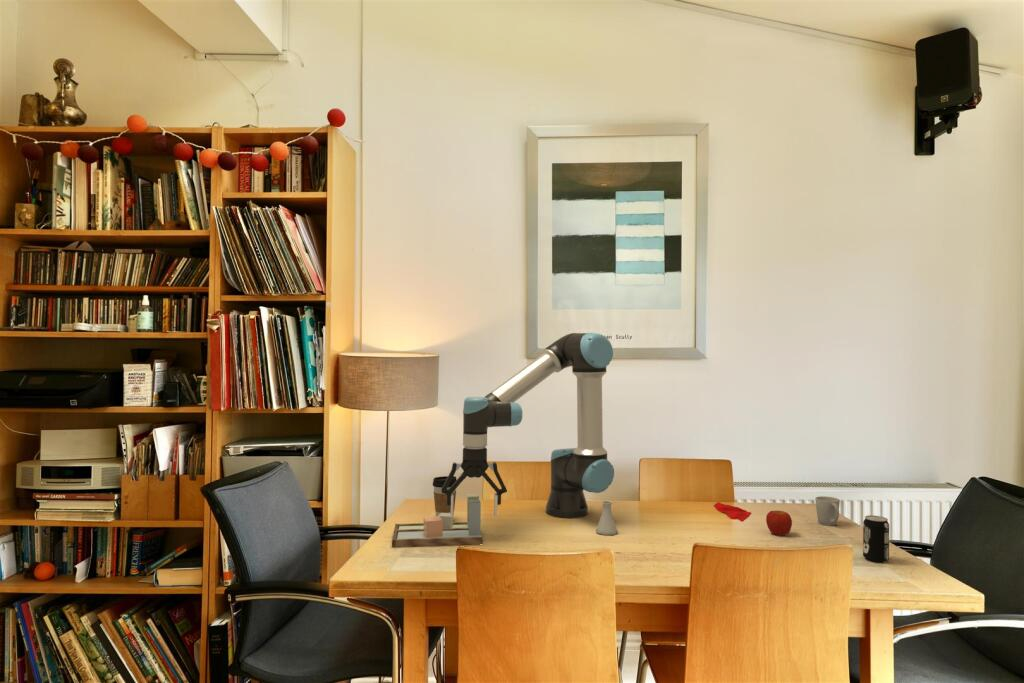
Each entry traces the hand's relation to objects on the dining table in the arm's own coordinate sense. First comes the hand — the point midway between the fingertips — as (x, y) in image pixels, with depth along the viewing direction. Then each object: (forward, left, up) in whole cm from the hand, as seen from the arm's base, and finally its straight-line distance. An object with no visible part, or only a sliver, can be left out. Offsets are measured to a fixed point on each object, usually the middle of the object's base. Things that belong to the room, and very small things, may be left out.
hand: (473, 515), depth 211 cm
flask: (-43, -4, -8) cm, 44 cm away
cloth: (-96, -25, -9) cm, 99 cm away
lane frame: (+11, -3, -8) cm, 14 cm away
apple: (-98, +3, -8) cm, 99 cm away
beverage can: (-113, +30, -8) cm, 117 cm away
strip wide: (+11, 0, -8) cm, 13 cm away
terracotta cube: (+13, 0, -6) cm, 14 cm away
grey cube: (+9, -8, -6) cm, 13 cm away
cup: (-121, -6, -8) cm, 122 cm away
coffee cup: (+9, -23, -8) cm, 26 cm away
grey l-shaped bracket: (+11, -8, -8) cm, 16 cm away
